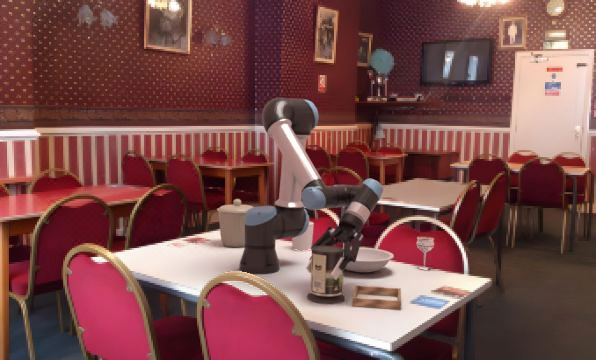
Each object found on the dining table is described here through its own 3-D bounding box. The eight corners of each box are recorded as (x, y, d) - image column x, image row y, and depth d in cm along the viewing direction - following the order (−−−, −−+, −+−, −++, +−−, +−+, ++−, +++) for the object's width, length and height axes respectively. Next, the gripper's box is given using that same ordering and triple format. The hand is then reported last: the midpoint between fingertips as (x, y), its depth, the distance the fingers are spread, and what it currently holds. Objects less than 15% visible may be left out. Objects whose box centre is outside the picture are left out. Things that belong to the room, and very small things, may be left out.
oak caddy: (352, 306, 175) (352, 298, 175) (355, 292, 190) (355, 285, 189) (400, 309, 173) (401, 301, 173) (400, 295, 187) (400, 288, 187)
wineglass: (412, 267, 228) (413, 237, 227) (426, 266, 230) (428, 236, 229) (421, 271, 221) (422, 240, 220) (436, 270, 224) (437, 239, 223)
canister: (232, 251, 248) (232, 202, 246) (208, 244, 261) (209, 198, 259) (264, 246, 260) (265, 200, 258) (240, 239, 273) (241, 195, 271)
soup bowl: (318, 266, 224) (318, 250, 224) (368, 261, 236) (368, 245, 235) (353, 281, 203) (354, 263, 203) (406, 274, 215) (407, 257, 215)
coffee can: (344, 289, 187) (345, 246, 185) (340, 298, 177) (341, 253, 175) (313, 286, 189) (314, 244, 188) (307, 295, 179) (308, 250, 177)
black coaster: (304, 302, 178) (304, 300, 178) (310, 291, 190) (310, 289, 190) (343, 305, 176) (343, 303, 176) (346, 294, 188) (346, 292, 188)
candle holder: (313, 251, 251) (313, 224, 250) (290, 251, 251) (291, 224, 250) (312, 247, 261) (313, 221, 259) (291, 246, 261) (292, 220, 260)
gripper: (386, 231, 184) (353, 288, 174) (333, 221, 200) (300, 273, 190) (377, 216, 180) (343, 273, 170) (323, 207, 196) (289, 260, 186)
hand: (320, 273), depth 180 cm, fingers closed on coffee can, 10 cm apart
